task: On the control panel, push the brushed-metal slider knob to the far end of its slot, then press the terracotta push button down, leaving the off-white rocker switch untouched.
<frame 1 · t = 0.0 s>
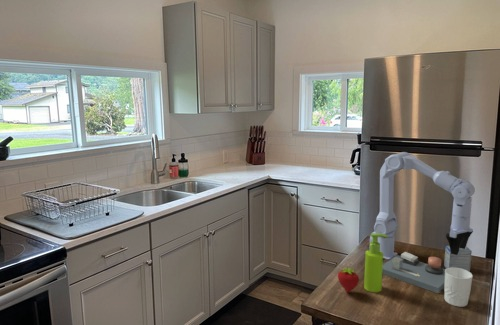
hand: (457, 251, 139), 10 cm above the kitchen island, fingers open, 7 cm apart
medicine box: (456, 269, 147), on the kitchen island
white cup: (455, 301, 124), on the kitchen island
rocker switch: (409, 257, 148), point 4 cm above the kitchen island, hinge at 8.0°
soap dispenser: (374, 288, 133), on the kitchen island
slider knob: (397, 263, 143), point 4 cm above the kitchen island, slide at 0.0 cm
strawberry: (347, 292, 130), on the kitchen island
panel: (415, 274, 142), on the kitchen island
push button: (434, 262, 140), point 5 cm above the kitchen island, slide at 0.0 cm
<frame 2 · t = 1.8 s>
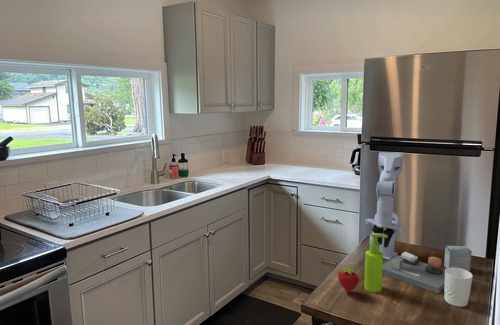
hand: (382, 245, 146), 9 cm above the kitchen island, fingers closed
nothing on the kitchen island moved.
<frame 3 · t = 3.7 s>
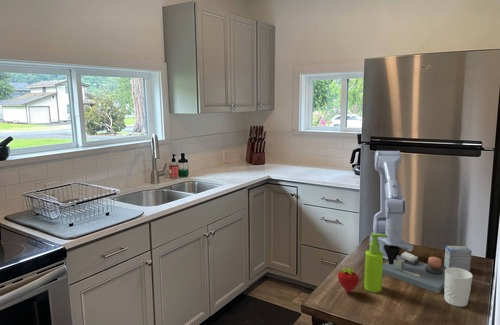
hand: (391, 263, 144), 3 cm above the kitchen island, fingers closed
slider knob: (399, 264, 142), point 4 cm above the kitchen island, slide at 0.7 cm, touching gripper
everything else where it was.
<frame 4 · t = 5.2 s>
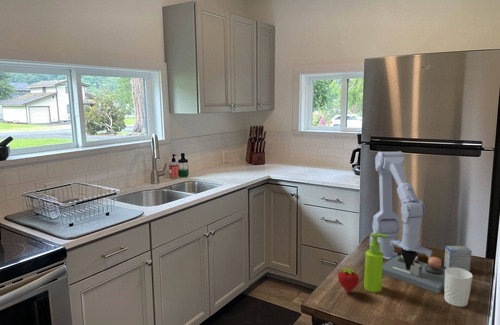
hand: (408, 268, 140), 3 cm above the kitchen island, fingers closed
slider knob: (416, 269, 138), point 4 cm above the kitchen island, slide at 7.1 cm, touching gripper
everything else where it was.
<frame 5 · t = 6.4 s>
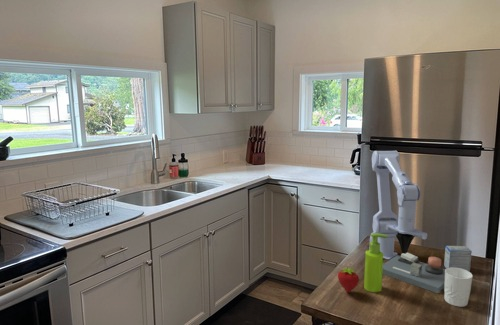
hand: (404, 252, 140), 9 cm above the kitchen island, fingers closed
slider knob: (416, 269, 138), point 4 cm above the kitchen island, slide at 7.1 cm
everything else where it was.
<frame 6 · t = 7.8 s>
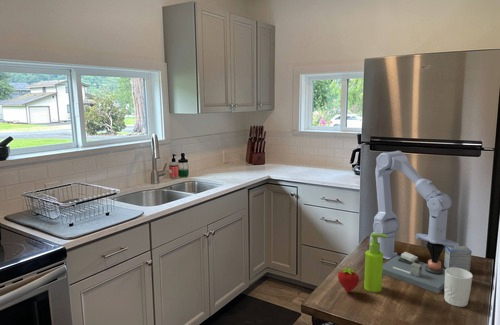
hand: (434, 262, 140), 5 cm above the kitchen island, fingers closed, pressing on push button
push button: (434, 264, 141), point 4 cm above the kitchen island, slide at 1.1 cm, touching gripper
everything else where it was.
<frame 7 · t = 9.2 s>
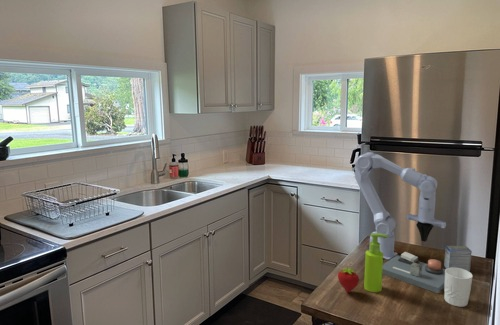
hand: (424, 240, 151), 9 cm above the kitchen island, fingers closed
push button: (434, 264, 141), point 4 cm above the kitchen island, slide at 1.0 cm
everything else where it was.
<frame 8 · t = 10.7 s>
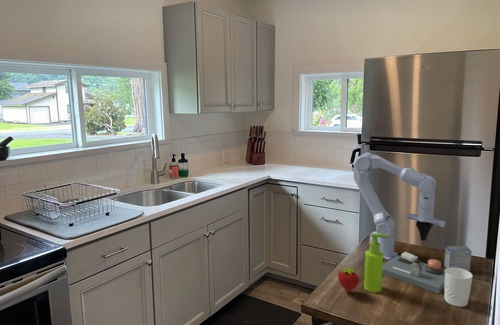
hand: (423, 239, 152), 9 cm above the kitchen island, fingers closed
nothing on the kitchen island moved.
at the end: slider knob slide at 7.1 cm; push button slide at 1.0 cm; rocker switch at +8° (first picture: +8°) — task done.
